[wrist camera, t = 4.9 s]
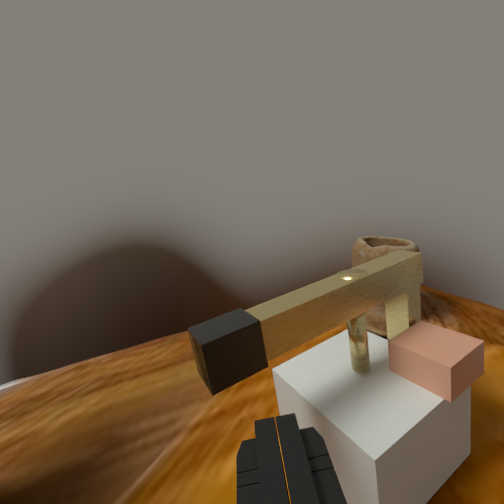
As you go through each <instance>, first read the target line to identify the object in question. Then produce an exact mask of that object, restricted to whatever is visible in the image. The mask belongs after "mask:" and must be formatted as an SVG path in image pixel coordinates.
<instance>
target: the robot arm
mask: <svg viewBox="0 0 504 504" xmlns="http://www.w3.org/2000/svg"><path fill="white" fill-rule="evenodd" d="M276 422H277V427H278V433H279V438H280V444H281V449H282V455H283V460H284V466H285V471H286V477H287V482H288V488H289V494H290V499H291V504H347V502H346V499H345V496H344V494H343V491H342V488H341V485H340V483H339V480H338V477H337V474H336V472H335V470H334V466H333V463H332V460H331V458H330V456H329V452H328V449H327V447H326V444H325V441H324V438H323V437H322V436H321V435H320V434H319V433H318V432H317V431H316V429H315V428H314V427H309V428H304V429H299V426H298V422H297V419H296V415H295V413H291V414H287V415H282V416H277V417H276ZM255 435H256V438H254V439H249V440H244V441H242V443H241V446H240V448H239V451H238V454H237V504H290V502H289V496H288V490H287V485H286V479H285V473H284V468H283V462H282V457H281V451H280V446H279V441H278V436H277V431H276V425H275V420H274V417H271V418H266V419H261V420H256V421H255Z"/></svg>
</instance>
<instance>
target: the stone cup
mask: <svg viewBox="0 0 504 504" xmlns="http://www.w3.org/2000/svg"><path fill="white" fill-rule="evenodd" d="M397 250H402V251H411V252H419V248H418V246H417V245H416V244H415V243H414V242H412V241H410V240H406V239H398V238H390V237H378V236H365V237H364V236H363V237H360V238H358V239H357V240H356V241H355V243H354V245H353V248H352V255H351V257H352V268H353V267H356V266H358V265H361V264H364V263H366V262H369V261H371V260H374V259H376V258H379V257H381V256H384V255H386V254H389V253H391V252H394V251H397ZM366 323H367V331H369V332H372V333H374V334H377V335H380V336H386V337H387V324H386V310H385V302H384V303H382V304H380V305H378V306H376V307H374V308H372V309H370V310H369V311H368V312H367V313H366Z"/></svg>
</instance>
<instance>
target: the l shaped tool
mask: <svg viewBox="0 0 504 504" xmlns="http://www.w3.org/2000/svg"><path fill="white" fill-rule="evenodd" d="M421 283H423V269H422V253H420V252H411V251H402V250H397V251H394V252H391V253H389V254H386V255H384V256H381V257H379V258H376V259H374V260H371V261H369V262H366V263H364V264H361V265H358V266H356V267H353V268H351V269H348V270H343V271H341V272H339V273H338V274H336V275H333V276H330V277H328V278H325V279H323V280H320V281H318V282H315V283H313V284H310V285H308V286H305V287H302V288H300V289H298V290H295V291H292V292H290V293H287V294H285V295H282V296H280V297H277V298H274V299H272V300H270V301H267V302H264V303H262V304H259V305H257V306H254V307H252V308H249V309H247V310H243V309H241V308H239V309H236V310H234V311H231V312H229V313H226V314H223V315H221V316H218V317H215V318H213V319H210V320H208V321H205V322H203V323H200V324H198V325H195V326H192V327H190V328H188V332H189V336H190V340H191V344H192V349H193V353H194V357H195V361H196V365H197V369H198V373H199V375H200V376H201V378H202V379H203V381H204V383H205V384H206V386H207V387H208V389H209V391H210V392H211V394H212V395H215V394H217V393H219V392H221V391H223V390H225V389H227V388H228V387H230V386H232V385H234V384H236V383H238V382H240V381H242V380H244V379H246V378H248V377H250V376H252V375H253V374H255V373H257V372H259V371H261V370H263V369H265V368H267V367H268V363H267V362H269V361H271V360H273V359H275V358H277V357H278V356H280V355H282V354H284V353H286V352H288V351H290V350H292V349H294V348H296V347H298V346H300V345H302V344H304V343H306V342H308V341H310V340H312V339H314V338H316V337H318V336H320V335H322V334H323V333H325V332H327V331H329V330H331V329H333V328H335V327H337V326H339V325H341V324H343V323H345V322H347V326H348V336H349V346H350V355H351V365H352V369H353V370H354V371H356V372H358V373H366V372H368V371H370V358H369V346H368V335H367V323H366V313H367V312H368V311H369V310H370V309H372V308H374V307H376V306H378V305H380V304H382V303H384V302H385V310H386V324H387V339H389V340H390V339H392V338H393V337H395V336H396V335H398V334H400V333H401V332H403V331H405V330H406V329H408V328H409V327H411V326H413V325H414V324H416V323H418V322H419V321H421V298H420V284H421Z"/></svg>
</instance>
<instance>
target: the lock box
mask: <svg viewBox="0 0 504 504" xmlns="http://www.w3.org/2000/svg"><path fill="white" fill-rule="evenodd" d="M367 335H368V346H369V358H370V371H368V372H366V373H358V372H356V371H354V370H353V369H352V365H351V355H350V346H349V336H348V329H347V330H345V331H343V332H341V333H339V334H338V335H336V336H334V337H332V338H330V339H328V340H326V341H324V342H322V343H321V344H319V345H317V346H315V347H313V348H311V349H309V350H307V351H305V352H304V353H302V354H300V355H298V356H296V357H294V358H292V359H290V360H288V361H287V362H285V363H283V364H281V365H279V366H277V367H275V368H273V369H272V372H273V377H274V383H275V389H276V394H277V400H278V406H279V412H280V416H282V415H287V414H291V413H295V415H296V419H297V422H298V426H299V429H304V428H309V427H314V428H315V429H316V431H317V432H318V433H319V434H320V435H321V436H322V437H323V438H324V441H325V444H326V447H327V449H328V452H329V456H330V458H331V460H332V463H333V466H334V470H335V472H336V474H337V477H338V480H339V483H340V485H341V488H342V491H343V494H344V496H345V499H346V502H347V504H426V503H427V502H428V501H429V500H430V499H431V498H432V496H433V495H434V494H435V493H436V492H437V491H438V490H439V489H440V487H441V486H442V485H443V484H444V483H445V482H446V481H447V479H448V478H449V477H450V476H451V475H452V474H453V473H454V472H455V470H456V469H457V468H458V467H459V466H460V465H461V464H462V462H463V461H464V460H465V459H466V458H467V457H468V456H469V455H470V453H471V385H470V386H469V387H468V388H467V389H466V390H465V391H464V392H462V393H461V394H460V395H459V396H458V397H457V398H456V399H455V400H454V401H453V402H452V403H450V402H449V401H447V400H445V399H443V398H441V397H439V396H437V395H435V394H434V393H432V392H430V391H428V390H426V389H424V388H422V387H420V386H418V385H417V384H415V383H413V382H411V381H409V380H407V379H405V378H403V377H401V376H400V375H398V374H396V373H394V372H392V371H390V366H389V352H388V340H387V339H384V338H382V337H380V336H377V335H375V334H373V333H370V332H368V331H367Z"/></svg>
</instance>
